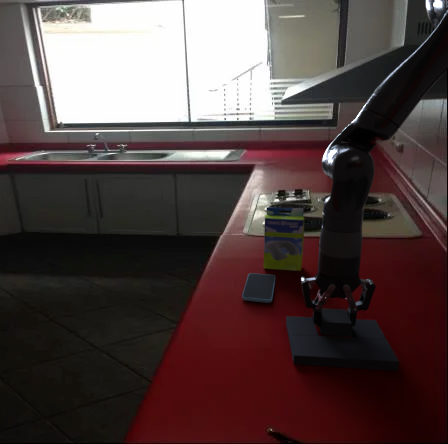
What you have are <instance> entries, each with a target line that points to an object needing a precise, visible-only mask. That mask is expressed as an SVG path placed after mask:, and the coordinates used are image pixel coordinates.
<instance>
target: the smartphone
mask: <svg viewBox="0 0 448 444" xmlns="http://www.w3.org/2000/svg"><path fill="white" fill-rule="evenodd" d="M275 285H276V275H274V274H269V273H268V274H265V273H253V272H251V273H248V274H247V278H246V281H245V285H244V288H243V291H242V294H241V299H242V300H243V301H247V302H254V303H255V302H257V303H266V304H269V303H272V302H273V298H274V292H275Z"/></svg>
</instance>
